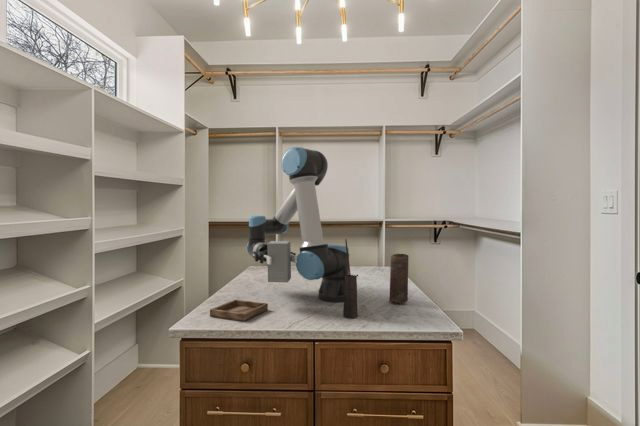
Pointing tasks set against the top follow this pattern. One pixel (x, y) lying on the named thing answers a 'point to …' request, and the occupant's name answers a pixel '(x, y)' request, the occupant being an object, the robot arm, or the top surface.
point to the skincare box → (279, 261)
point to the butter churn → (350, 293)
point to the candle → (399, 278)
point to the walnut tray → (239, 310)
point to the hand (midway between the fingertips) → (283, 260)
